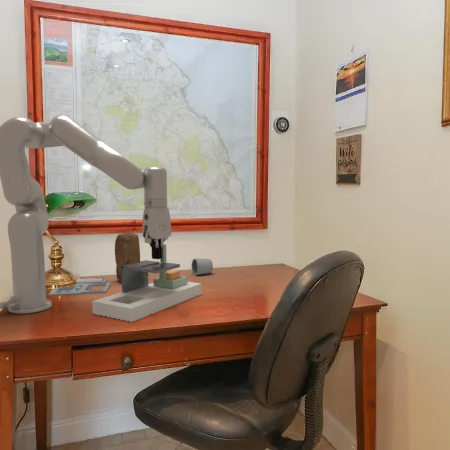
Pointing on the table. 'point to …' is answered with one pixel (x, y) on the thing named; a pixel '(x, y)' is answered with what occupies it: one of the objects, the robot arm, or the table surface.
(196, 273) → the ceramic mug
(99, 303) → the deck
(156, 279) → the green peg stand
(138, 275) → the grey overhanging bracket
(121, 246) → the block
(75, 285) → the blue-grey slotted plate
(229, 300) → the table surface
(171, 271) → the orange block
